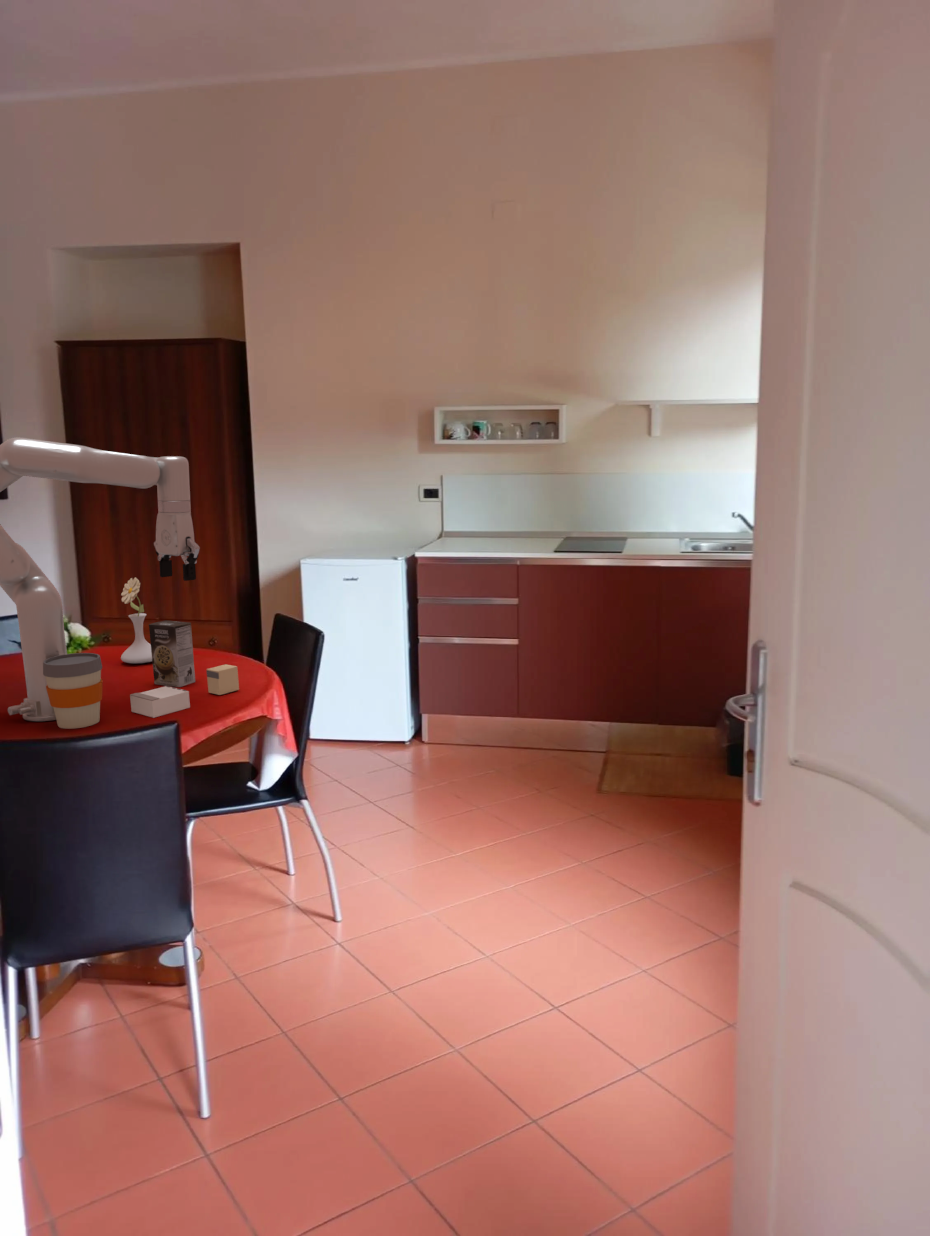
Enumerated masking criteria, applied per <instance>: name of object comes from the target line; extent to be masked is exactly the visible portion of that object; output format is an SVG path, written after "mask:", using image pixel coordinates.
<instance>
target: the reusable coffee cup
mask: <svg viewBox="0 0 930 1236" xmlns="http://www.w3.org/2000/svg"><path fill="white" fill-rule="evenodd" d="M102 670H103V664H102V659H101V655H100V654H98V653H93V652H77V653H67V654H65V655H59V656H55V657H51V658H48V659H46V660H44V661H43V675H44V676H45V678H46V681H47V686H46V689H47V693H48V697H49V701H50V705H51V706H52V707H53V708H54V712H55V716H56V720H55V721H56V724H57V726H58V727H59V728H60V729H69V730H70V729H72V730H73V729H80V728H87V727H89V726H94V725H96V724H98V723H99V722H100V719H101V718H100V715H101V714H100V713H101V701H102V700H103V679H102V678H101V677H102Z"/></svg>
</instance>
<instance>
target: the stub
mask: <svg viewBox="0 0 930 1236" xmlns="http://www.w3.org/2000/svg"><path fill="white" fill-rule="evenodd" d="M206 680H207V688H208V689H207V690H208V692H207V693H210V694H214V695H218V696H221V695H225V694H229V693H232V692H237V691H239V690H240V683H239V682H240V681H239V671H238V666H236V665H233V664H232V665H231V664H226V663H225V664H222V665H218V666H214V667H210V668H206Z"/></svg>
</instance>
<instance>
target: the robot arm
mask: <svg viewBox="0 0 930 1236" xmlns="http://www.w3.org/2000/svg"><path fill="white" fill-rule="evenodd" d="M189 465H190V464H189V460H188V458H187V457H184V456H180V455H179V456H178V455H176V456H174V455H171V456H170V455H167V456H160V457H158V456H157V457H154V456H148V455H147V456H146V455H139V454H132V453H131V454H130V453H125V452H118V451H108V450H102V449H98V448H93V447H89V446H86V445H81V444H73V443H65V442H57V441H49V440H43V439H35V438H28V437H22V436H21V437H19V436H18V437H10V438H8V439H6V440H5V441H4V442H2V443H1V444H0V493H1V492H2V491H4V490H5V489H7V488H8V487H10V486H11V485H12V484H14V483H15V482H17V481H18V480H20V479H21V478H22V477H29V478H30V477H32V478H38V479H47V480H57V481H65V482H72V483H82V484H103V485H111V486H120V487H129V488H136V489H148V488H151V487H153V486H157V487H156V488H157V509H158V513H157V515H156V524H155V541H154V542H153V546H154V548H155V549H154V550H155V553H156V555H157V561H158V563H159V577H160V578H167V577H168V578H169V577H172V576H173V562H172V557H179V556H180V557H181V560H182V561H183V562H184V563H182V576H183V577H182V578H183V581H186V582H187V581H195V580H196V579H197V571H196V569H197V568H196V564H197V562H198V558H199V553H200V549H201V547H200V546H199V544H198V543H196V541H195V533H194V532H195V531H194V525H193V524H194V523H193V519H192V512H191V511H192V510H191V509H192V508H191V491H190V490H191V488H190V466H189ZM0 588H1V589H2V590H3V591H4V592H5V594H7V596H8V597H9V598H10V599H11V601H12V602H13V603H14V605H15V606H16V613H17V621H18V627H19V638H20V645H21V652H22V660H23V662H22V663H23V669H24V677H25V687H26V694H27V697H25V698H23V702H21V703H20V704H17V705H12V706H8V708H7V713H8V715H9V716H13V715H17V714H19V715H22V719H23V720H25V721H28V722H49V721H51V722H52V721H57V720H56V716H55V712H54V708H53V707H52V706H51V705H50V701H49V697H48V693H47V689H46V686H47V681H46V678H45V676H44V675H43V661H44V660H46V659H48V658H51V657H55V656H59V655H65V654H68V650H67V644H66V643H67V642H66V636H65V635H66V634H65V624H64V621H65V620H64V608H63V602H62V597H61V595H60V592H59V591H58V589H57V588H56V587H55V585H54V583H52V581H51V580H50V579H49V577H48V576H47V575H46V574H45V572H44V571H42V569H41V568H40V567H39V565H38V564H37V563H36V561H35V560H34V559H33V557H31V555H30V554H29V553H28V552H27V549H25V548H24V547H23V546H22V545H20V544H19V543H17V542H15V540H14V539H13V538H12V537H11V536H10V535H9V533H8V532H7V531H6V530H5V529H4V526H2V524H1V523H0Z"/></svg>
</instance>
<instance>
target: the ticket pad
mask: <svg viewBox="0 0 930 1236" xmlns="http://www.w3.org/2000/svg"><path fill="white" fill-rule="evenodd" d="M129 698H130V708H131V709H130V710H131V712H132V713H136V714H139V715H143V716H146V717H149V718H153V719H154V718H157V717H160V716H161V717H162V716H165V715H168V714H172V713H175V712H179V711H183V710H185V709H190V708H191V703H190V701H191V700H190V691H189V690H187V689H181V688H178V687H174V686H166V685H163V686H161V687H158V688H154V689H153V688H152V689H150V690H146V691H142V692H134V693H131V694H129Z"/></svg>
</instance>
